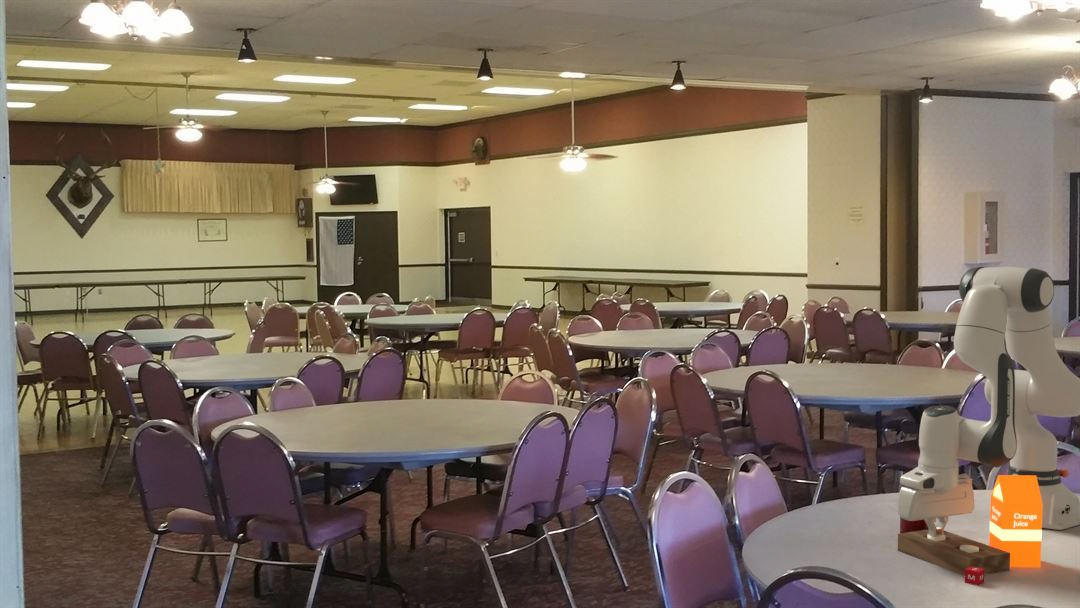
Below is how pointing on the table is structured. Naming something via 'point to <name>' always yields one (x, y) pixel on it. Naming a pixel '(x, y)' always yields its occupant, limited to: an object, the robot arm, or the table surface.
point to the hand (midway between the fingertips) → (936, 535)
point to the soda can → (912, 525)
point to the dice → (974, 575)
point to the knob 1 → (936, 537)
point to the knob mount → (953, 552)
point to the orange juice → (1017, 519)
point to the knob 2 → (969, 548)
